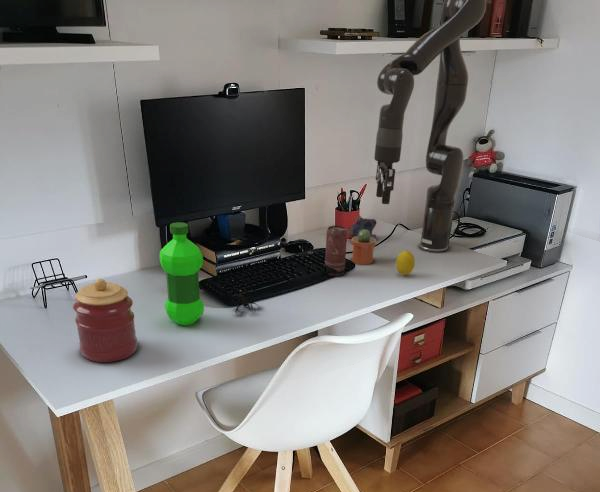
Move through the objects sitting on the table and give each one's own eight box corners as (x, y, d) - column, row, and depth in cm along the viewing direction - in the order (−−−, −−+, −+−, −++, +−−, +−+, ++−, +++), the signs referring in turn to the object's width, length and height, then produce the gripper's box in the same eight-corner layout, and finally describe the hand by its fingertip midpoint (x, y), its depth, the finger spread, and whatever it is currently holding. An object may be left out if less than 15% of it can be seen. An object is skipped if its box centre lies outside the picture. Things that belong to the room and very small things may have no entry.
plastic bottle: (157, 318, 169) (149, 223, 156) (193, 309, 175) (188, 216, 162) (176, 333, 163) (169, 234, 150) (213, 323, 168) (209, 226, 155)
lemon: (415, 274, 202) (418, 249, 198) (409, 280, 198) (413, 254, 194) (397, 271, 204) (400, 246, 200) (392, 276, 200) (395, 251, 196)
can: (345, 277, 199) (348, 231, 191) (324, 276, 199) (327, 230, 191) (344, 270, 204) (347, 225, 197) (324, 269, 204) (326, 224, 197)
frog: (340, 238, 231) (341, 216, 227) (365, 232, 237) (366, 211, 233) (359, 245, 224) (361, 223, 220) (384, 239, 231) (386, 217, 227)
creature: (264, 314, 176) (245, 299, 180) (267, 297, 173) (248, 282, 177) (242, 322, 172) (223, 307, 175) (245, 305, 168) (225, 290, 172)
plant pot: (361, 255, 216) (363, 224, 211) (379, 261, 212) (382, 230, 206) (345, 260, 212) (347, 229, 206) (363, 266, 207) (366, 235, 201)
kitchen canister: (73, 362, 148) (61, 289, 139) (89, 337, 159) (78, 268, 150) (131, 364, 148) (122, 291, 139) (142, 338, 159) (135, 269, 150)
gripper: (406, 148, 185) (399, 206, 193) (395, 140, 197) (389, 195, 205) (380, 147, 184) (374, 206, 192) (371, 139, 196) (366, 194, 205)
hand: (382, 200), depth 199 cm, fingers open, 8 cm apart
